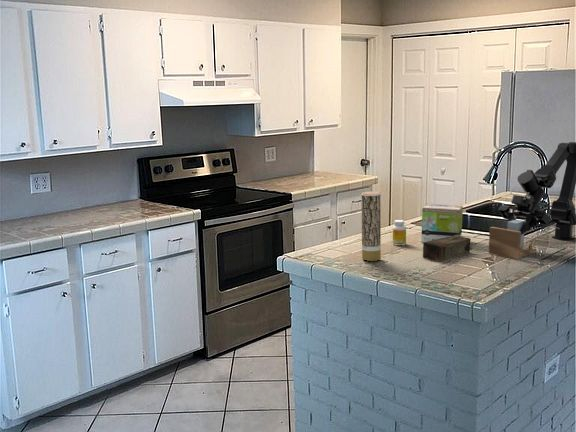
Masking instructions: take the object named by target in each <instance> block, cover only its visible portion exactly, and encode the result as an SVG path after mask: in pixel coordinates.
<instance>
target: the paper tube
mask: <svg viewBox="0 0 576 432" xmlns="http://www.w3.org/2000/svg"><path fill="white" fill-rule="evenodd" d="M381 215H382V213H381V192H380V191H364V192H361V258H362V261H364V260H367V261H366V262H368V261H375V262H378V261H377V260H379V261H380V260H381V256H382V255H381V254H382V253H381V251H382V250H381V247H382V246H381V245H382V244H381V241H382V240H381V239H382V238H381V232H382V231H381V230H382V229H381V219H382V217H381Z"/></svg>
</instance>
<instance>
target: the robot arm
mask: <svg viewBox="0 0 576 432" xmlns="http://www.w3.org/2000/svg"><path fill="white" fill-rule="evenodd" d="M564 162H566V166H565V171H564V174H563V178H562V183H561V189H560V191H559V196H558V198H557V199H556V200H553V201H552V203H551V208H550V212H549V215H550V216H549V215H548V213H547V212H546V210H540V206H539V204H540V203H541V201H542V199H547V194H546V190H544V189H551V188H552V187H553V186H554V185H555V182H556V180H557V173H558V171H559V169H560V168H561V167H562V166H563V164H564ZM517 182H518V183H519V185H520V188H522V190H523V191H524V193H526V194H525V195H517V194H513V196H512V199H511V203H510V204H513V205H514V207H515V209H517V210H515V209H513V208H512V206H510V205H504V204H503V205H500V206H499V208H498V209H497V211H498V212H499V214H500V215H501V217H502V218H503V219H505V220H507V223H508V222H509V221H512V220H517V219H516V218H517V217H520V218H525V220H524V221H525V223H524V224H523V226H522V228H521V230H520V232H521V235H522V234H523V233H524V234H525V233H527V232H528V231H529V230H532V229H533V228H536V226H537V227H539V226H540V225H541V226H549V224H550V222H551V223H553V224H555V227H554V235H552V236H551V238H552V239H558V240H561V241H569V240H573V239H576V236H573V230H574V229H573V226H576V212H575V208H576V207H575V205H574V201H573V199H574V198H573V197H574V193H575V189H576V141H569V142H560V143H558V145H557V148H556V149H555V151H554V152H553V153H552V155H551V156H550V158H549V159H548V161H547V162H546V163H545V164H544V166H542V167H541V168H538V169H537V170H536V171H535V172H534V171H533V170H532V169H526V171H525V172H522V173H520V174H519V175H518V176H517ZM507 227H508V224H507V226H506V228H507Z"/></svg>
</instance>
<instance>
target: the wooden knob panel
mask: <svg viewBox="0 0 576 432" xmlns="http://www.w3.org/2000/svg"><path fill="white" fill-rule="evenodd" d="M520 245H521V232H520V231H514V230H509V229H507V228H501V227H496V226H490V227H489V239H488V254H491V255H493V256H494V255H495V256H499V257H505V258H508V259H513V260H520V259H521V258H524V257H527V256H530V255H532V254H536V253H537V249H536V248H533V244H532V243H528V248H527V249H526V248H525V249H524V250H523V247H520ZM526 255H527V256H526ZM523 256H524V257H523ZM520 257H521V258H520Z"/></svg>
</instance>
